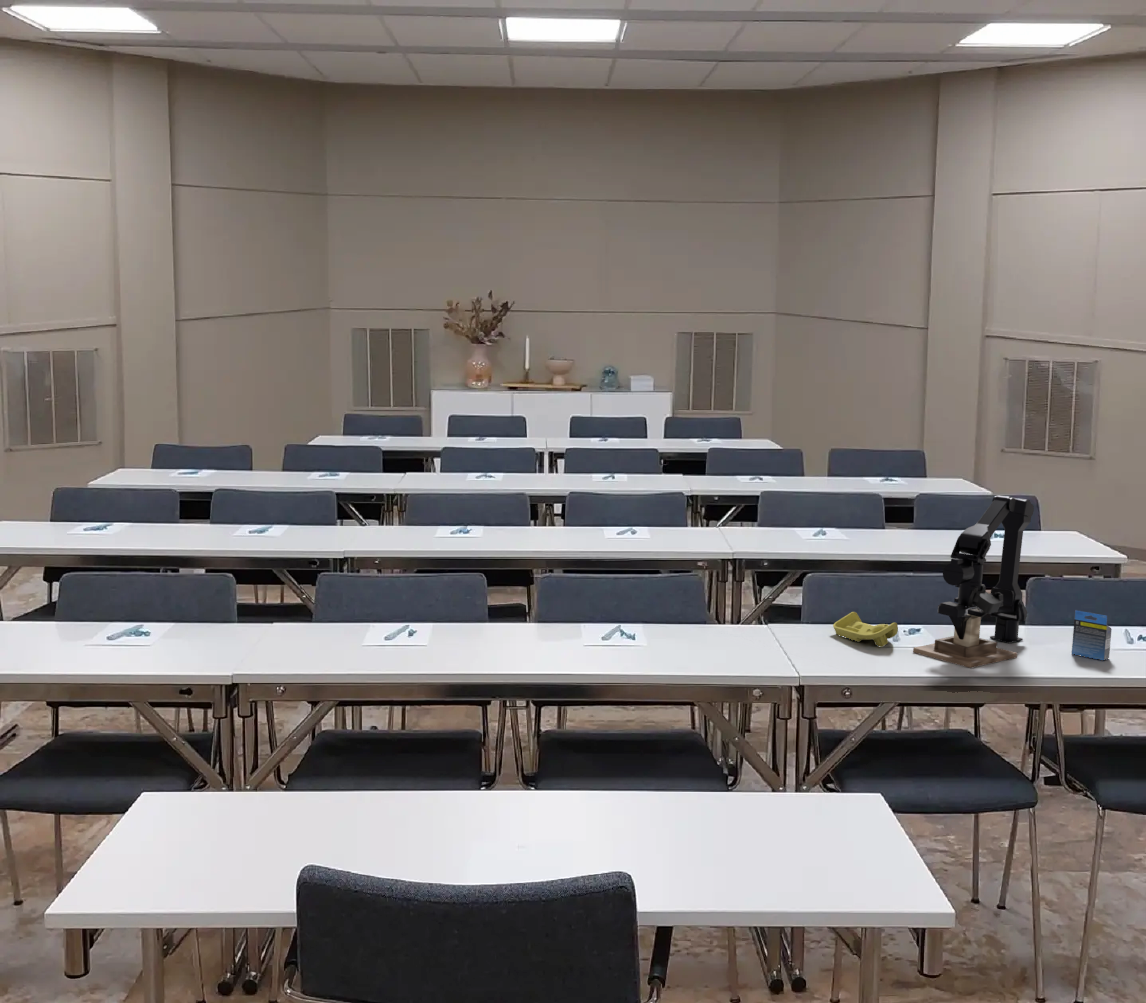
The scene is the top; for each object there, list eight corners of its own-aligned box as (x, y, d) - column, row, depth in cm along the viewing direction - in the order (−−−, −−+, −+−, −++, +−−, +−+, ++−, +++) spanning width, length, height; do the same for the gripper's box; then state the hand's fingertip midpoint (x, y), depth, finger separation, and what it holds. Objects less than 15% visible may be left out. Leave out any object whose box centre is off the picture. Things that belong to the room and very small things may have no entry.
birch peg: (962, 642, 342) (964, 613, 341) (978, 646, 338) (980, 617, 337) (953, 644, 340) (955, 615, 338) (969, 648, 336) (971, 619, 334)
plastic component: (829, 626, 357) (857, 608, 360) (839, 648, 359) (866, 631, 362) (871, 638, 339) (900, 619, 342) (881, 661, 341) (909, 643, 344)
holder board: (959, 642, 352) (960, 629, 352) (1017, 657, 338) (1018, 643, 338) (913, 652, 340) (914, 638, 340) (970, 668, 326) (971, 653, 326)
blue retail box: (1109, 659, 339) (1114, 613, 337) (1103, 661, 336) (1107, 615, 335) (1076, 652, 345) (1080, 607, 344) (1070, 654, 343) (1074, 609, 341)
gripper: (974, 589, 324) (970, 649, 327) (1018, 582, 335) (1013, 640, 338) (938, 581, 333) (934, 640, 335) (982, 574, 344) (978, 631, 347)
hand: (966, 638), depth 339 cm, fingers closed on birch peg, 4 cm apart
